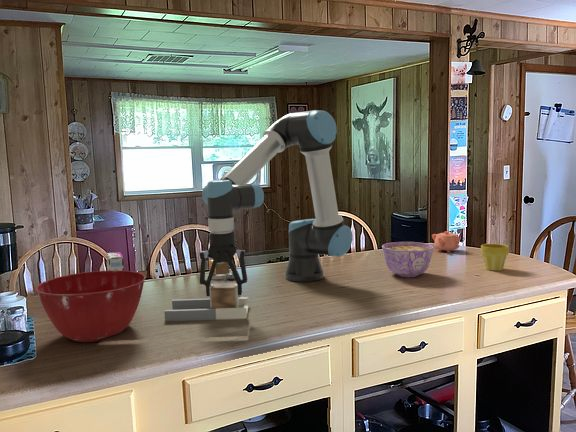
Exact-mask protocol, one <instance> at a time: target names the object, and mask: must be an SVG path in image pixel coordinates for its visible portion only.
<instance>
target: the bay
mask: <svg viewBox="0 0 576 432" xmlns="http://www.w3.org/2000/svg"><path fill="white" fill-rule="evenodd" d="M171 303H172V304H171V306H172V307H171V308H172V309H164V321H165V322H182V321H183V322H185V321H186V322H189V321H216V320H219V321H220V320H245V319H246V320H247V318H248V313H249V307H250V304H249V303H250V300H249V296H246V297H241V298H239V305H238V307H237V308H214V309H212V308H210V298H188V299H187V298H186V299H185V298H184V299H183V298H182V299H172V300H171Z"/></svg>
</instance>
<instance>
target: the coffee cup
mask: <svg viewBox="0 0 576 432" xmlns="http://www.w3.org/2000/svg"><path fill="white" fill-rule="evenodd" d="M207 258H208V262H209V261H210V260H214V259H213V258H212V257H211V256H210V254H208V257H207ZM208 267H209V266H208ZM209 269H210V267H209ZM226 273H230V266H229V264H228V263H225V262H221V263H217V265H216V275H222V274H226ZM224 279H226V278H224ZM224 279H212V280H211V284H213V282H224Z"/></svg>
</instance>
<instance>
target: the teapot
mask: <svg viewBox="0 0 576 432" xmlns="http://www.w3.org/2000/svg"><path fill="white" fill-rule="evenodd" d="M431 237H432V240H434V244H433V245H434V249H435V250H437V252H440V253H441V252H443V251H446V253H448V254H452V252H456V250H457V249H459V248H460V245H459V243H460V241H461V240H460V239H461V238H460V236H459V235H457V233H452V232H450V231H448V230H447V231H444V232H440V233H437V234H436V233H433V234H431Z"/></svg>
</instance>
